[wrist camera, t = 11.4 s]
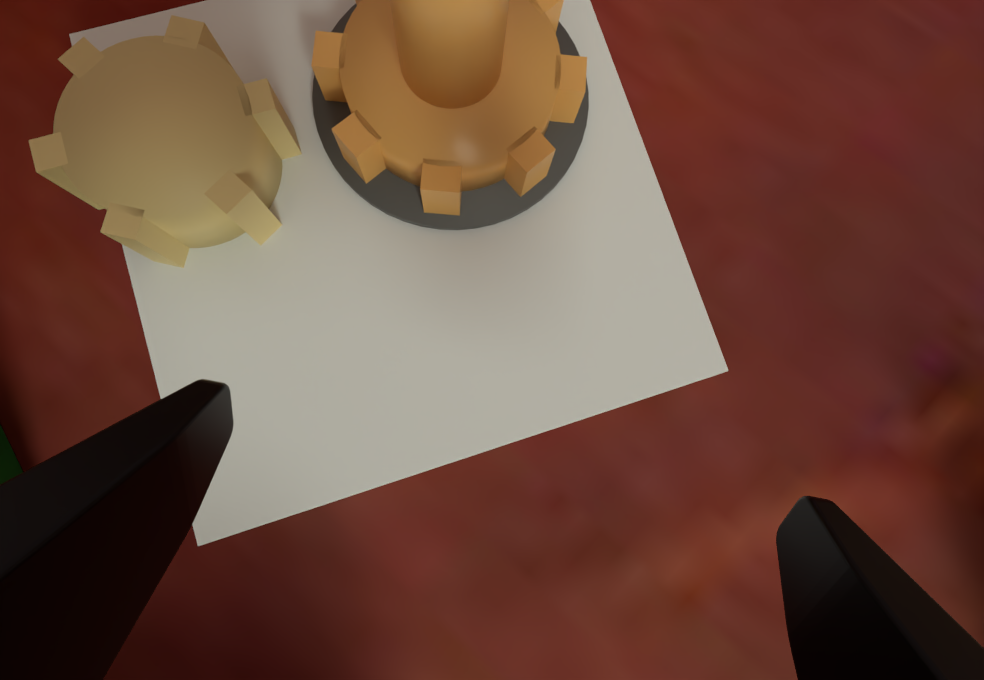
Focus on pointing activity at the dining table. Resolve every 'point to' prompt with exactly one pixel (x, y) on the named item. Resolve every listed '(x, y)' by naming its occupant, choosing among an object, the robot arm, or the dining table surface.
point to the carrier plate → (363, 259)
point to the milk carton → (7, 460)
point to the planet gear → (450, 92)
